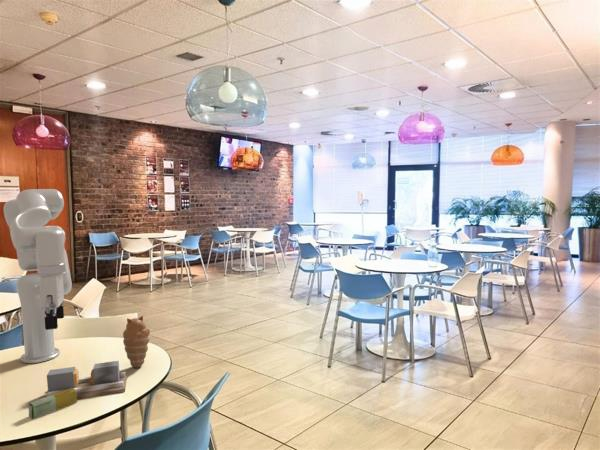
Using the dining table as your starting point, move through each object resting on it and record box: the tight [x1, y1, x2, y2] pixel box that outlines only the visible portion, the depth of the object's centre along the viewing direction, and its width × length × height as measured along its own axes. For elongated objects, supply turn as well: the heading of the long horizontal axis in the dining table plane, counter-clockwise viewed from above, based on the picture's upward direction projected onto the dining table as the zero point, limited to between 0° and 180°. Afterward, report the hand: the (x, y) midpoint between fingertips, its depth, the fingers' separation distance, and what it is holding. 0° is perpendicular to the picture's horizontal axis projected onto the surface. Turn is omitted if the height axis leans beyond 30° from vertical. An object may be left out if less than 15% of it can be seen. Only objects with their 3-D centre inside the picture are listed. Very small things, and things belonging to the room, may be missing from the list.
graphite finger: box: [46, 366, 80, 392], centre depth 131 cm, size 4×8×6 cm, turn 109°
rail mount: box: [44, 360, 128, 400], centre depth 133 cm, size 22×12×7 cm, turn 108°
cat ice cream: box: [122, 315, 151, 369], centre depth 148 cm, size 9×8×18 cm
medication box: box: [27, 388, 78, 420], centre depth 121 cm, size 12×3×4 cm, turn 140°
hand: (55, 323), depth 133 cm, fingers open, 9 cm apart
